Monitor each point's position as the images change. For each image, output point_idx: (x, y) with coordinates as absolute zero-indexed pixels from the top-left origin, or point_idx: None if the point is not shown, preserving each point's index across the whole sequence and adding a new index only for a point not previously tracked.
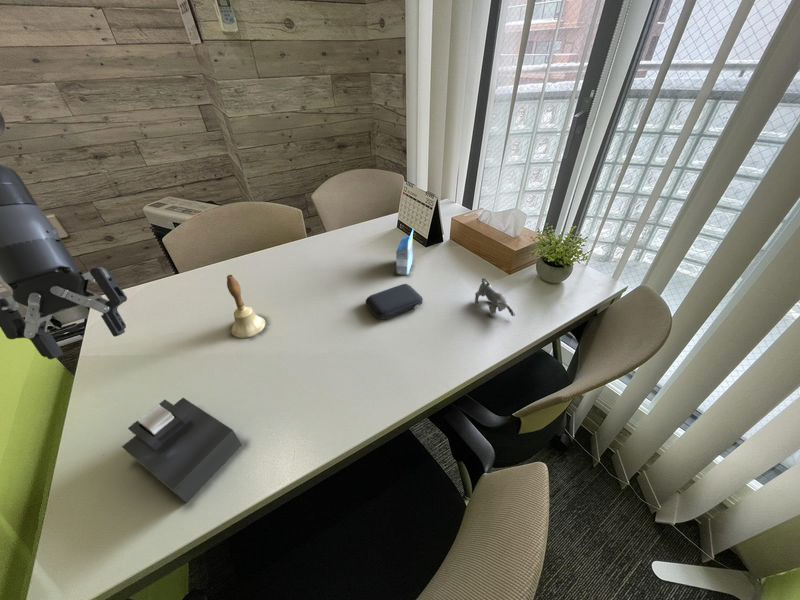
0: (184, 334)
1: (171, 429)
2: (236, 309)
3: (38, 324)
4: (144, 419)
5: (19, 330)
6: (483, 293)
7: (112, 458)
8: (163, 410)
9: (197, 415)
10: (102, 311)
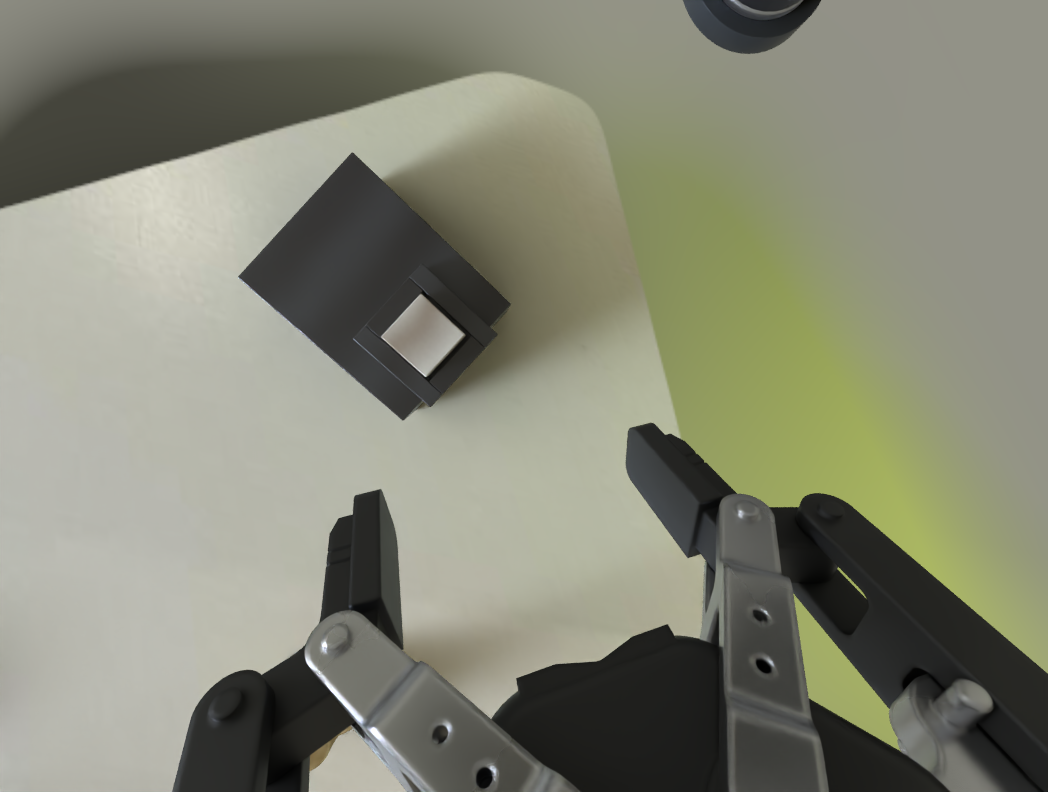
0: (509, 690)
1: (385, 303)
2: (318, 760)
3: (716, 564)
4: (446, 332)
5: (807, 544)
6: None
7: (562, 333)
8: (403, 350)
9: (347, 350)
10: (355, 624)
